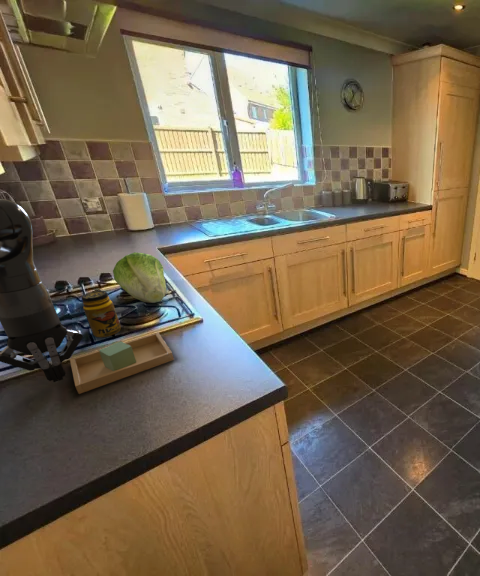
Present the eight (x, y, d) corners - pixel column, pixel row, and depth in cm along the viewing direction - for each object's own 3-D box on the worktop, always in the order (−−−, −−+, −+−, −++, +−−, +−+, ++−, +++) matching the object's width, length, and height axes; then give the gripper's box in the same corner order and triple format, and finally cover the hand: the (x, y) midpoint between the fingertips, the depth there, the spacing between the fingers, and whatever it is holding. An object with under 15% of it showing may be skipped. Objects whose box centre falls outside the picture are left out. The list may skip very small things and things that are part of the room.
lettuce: (184, 307, 111) (133, 324, 103) (164, 276, 126) (118, 288, 117) (172, 272, 103) (116, 287, 95) (153, 243, 118) (103, 253, 109)
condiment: (115, 339, 88) (101, 299, 83) (78, 342, 86) (62, 301, 81) (128, 325, 94) (116, 287, 89) (95, 328, 92) (80, 289, 88)
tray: (79, 396, 68) (75, 386, 67) (73, 368, 76) (69, 359, 75) (174, 361, 80) (172, 352, 79) (160, 340, 88) (158, 332, 87)
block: (115, 372, 74) (109, 356, 73) (104, 366, 76) (98, 350, 75) (136, 362, 78) (131, 346, 76) (126, 356, 80) (120, 340, 78)
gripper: (68, 291, 70) (94, 358, 77) (-27, 311, 61) (12, 385, 68) (73, 303, 65) (100, 373, 72) (-29, 326, 56) (14, 404, 63)
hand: (57, 379), depth 70 cm, fingers closed
